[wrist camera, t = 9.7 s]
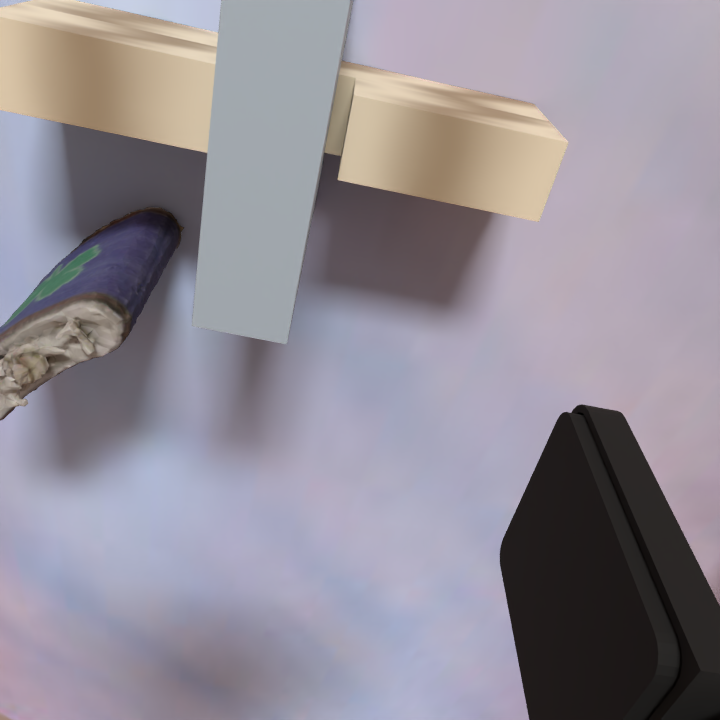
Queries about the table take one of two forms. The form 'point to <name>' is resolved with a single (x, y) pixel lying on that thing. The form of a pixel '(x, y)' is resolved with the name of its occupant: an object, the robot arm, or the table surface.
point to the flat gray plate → (265, 159)
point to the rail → (348, 119)
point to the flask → (85, 302)
